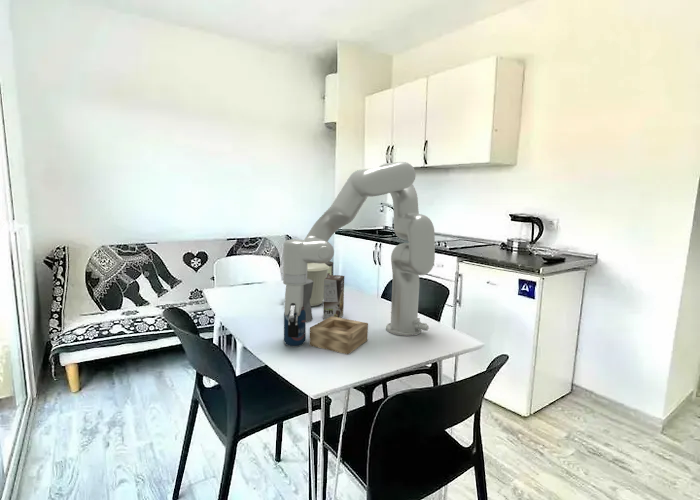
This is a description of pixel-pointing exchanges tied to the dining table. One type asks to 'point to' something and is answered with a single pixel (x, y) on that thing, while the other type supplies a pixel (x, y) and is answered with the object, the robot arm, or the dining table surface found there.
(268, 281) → the dining table surface
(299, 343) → the soda can
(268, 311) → the dining table surface
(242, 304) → the dining table surface
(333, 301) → the coffee box
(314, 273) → the canister
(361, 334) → the square wooden tray
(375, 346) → the dining table surface
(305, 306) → the coffeepot
